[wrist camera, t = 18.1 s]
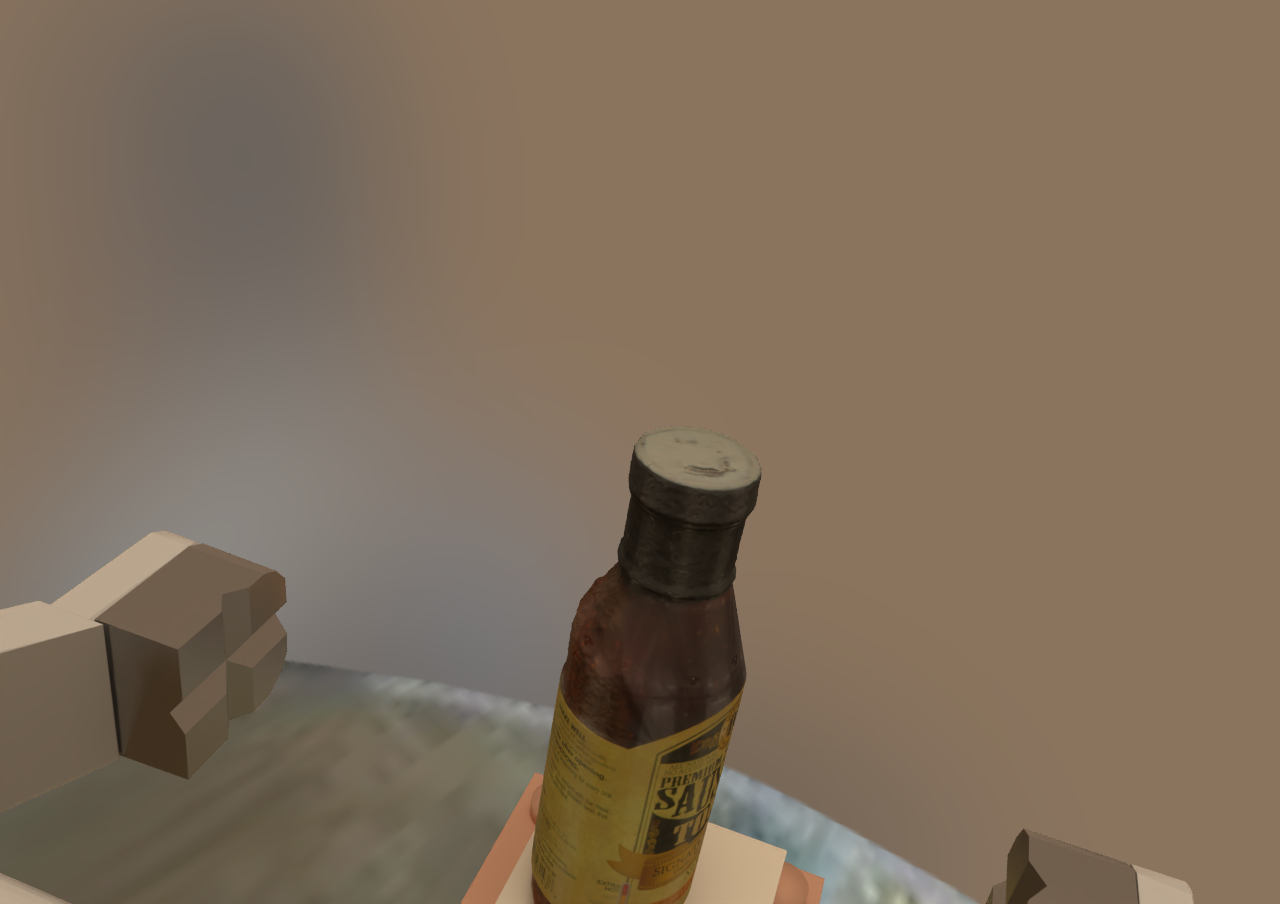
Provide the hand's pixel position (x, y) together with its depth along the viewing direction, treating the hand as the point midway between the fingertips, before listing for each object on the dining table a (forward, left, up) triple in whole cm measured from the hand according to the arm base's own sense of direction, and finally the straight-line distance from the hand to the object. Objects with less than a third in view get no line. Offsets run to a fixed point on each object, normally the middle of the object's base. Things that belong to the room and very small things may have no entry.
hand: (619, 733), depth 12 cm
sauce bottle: (-3, +20, -28) cm, 35 cm away
